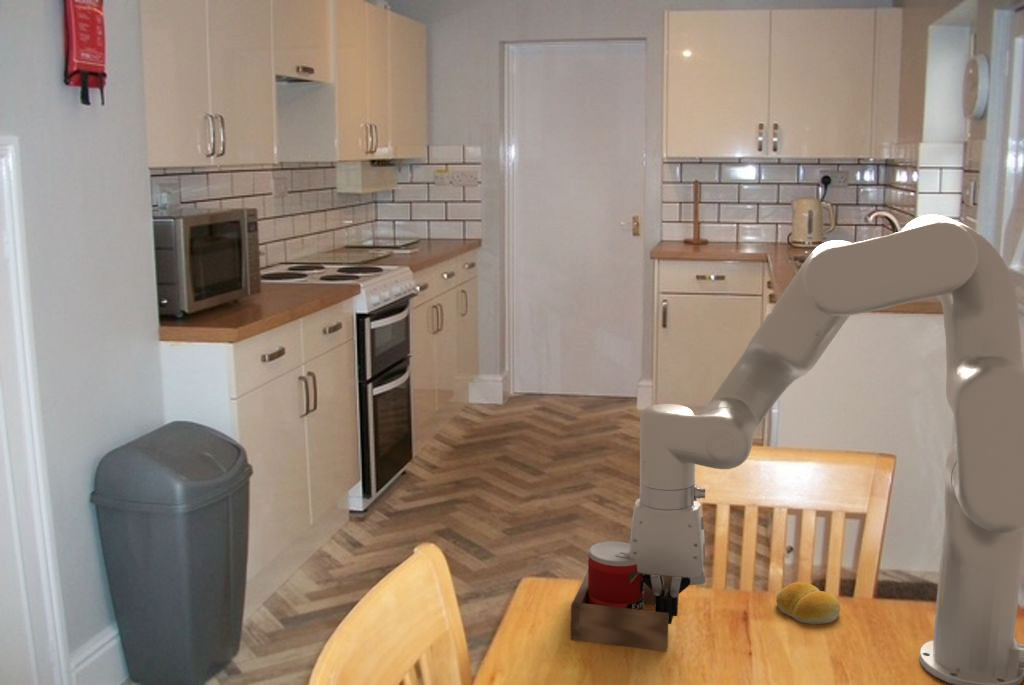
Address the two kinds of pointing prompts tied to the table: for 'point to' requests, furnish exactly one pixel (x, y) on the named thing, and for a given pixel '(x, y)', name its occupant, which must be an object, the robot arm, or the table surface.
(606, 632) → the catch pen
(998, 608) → the robot arm
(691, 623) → the table surface
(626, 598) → the canned food
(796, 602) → the bread roll
